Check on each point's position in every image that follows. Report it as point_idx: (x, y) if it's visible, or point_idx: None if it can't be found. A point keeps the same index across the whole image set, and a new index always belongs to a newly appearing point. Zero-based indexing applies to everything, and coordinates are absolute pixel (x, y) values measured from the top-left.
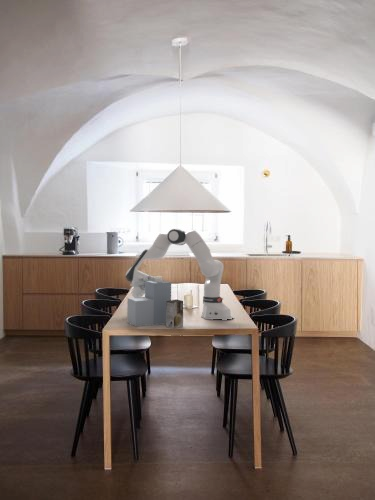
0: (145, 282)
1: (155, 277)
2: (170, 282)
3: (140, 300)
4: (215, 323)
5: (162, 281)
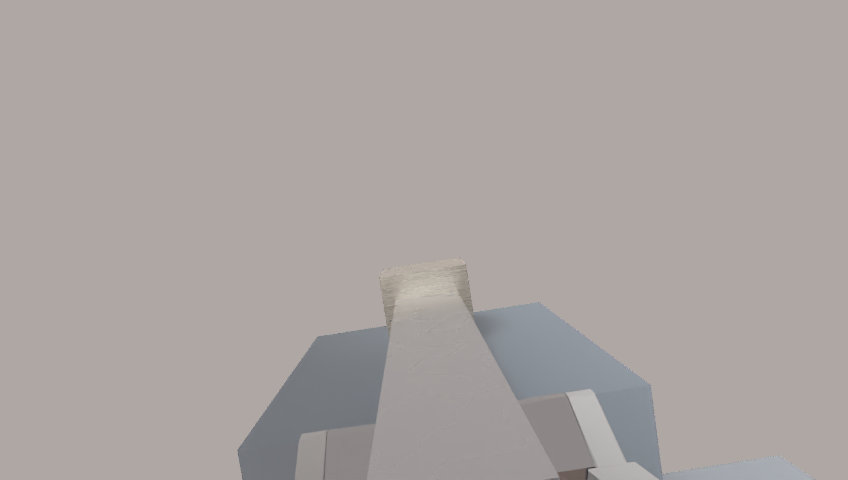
0: (647, 410)
1: (468, 282)
2: (326, 336)
3: (726, 475)
4: None
5: (358, 366)
